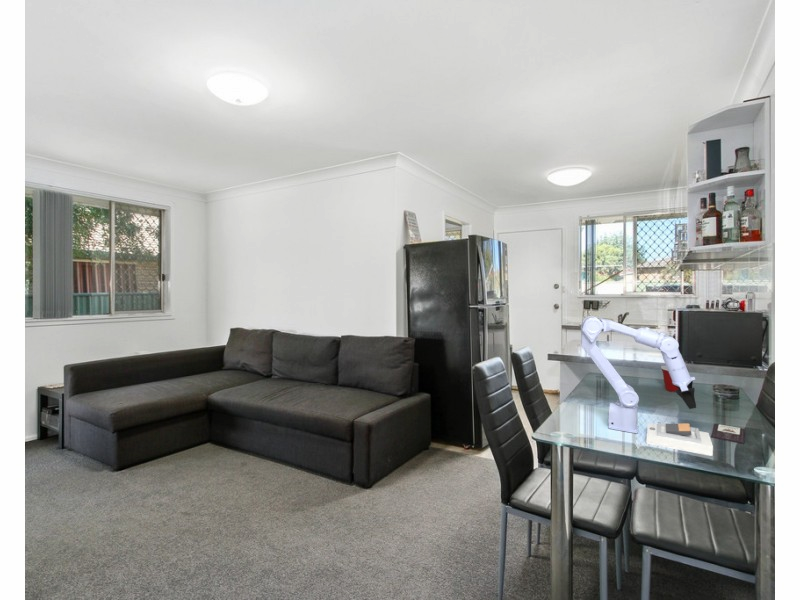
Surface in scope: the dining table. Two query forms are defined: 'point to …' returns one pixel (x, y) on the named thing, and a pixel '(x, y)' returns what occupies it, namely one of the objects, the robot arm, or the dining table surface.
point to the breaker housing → (679, 439)
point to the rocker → (678, 429)
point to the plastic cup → (668, 380)
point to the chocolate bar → (728, 433)
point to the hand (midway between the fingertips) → (692, 404)
